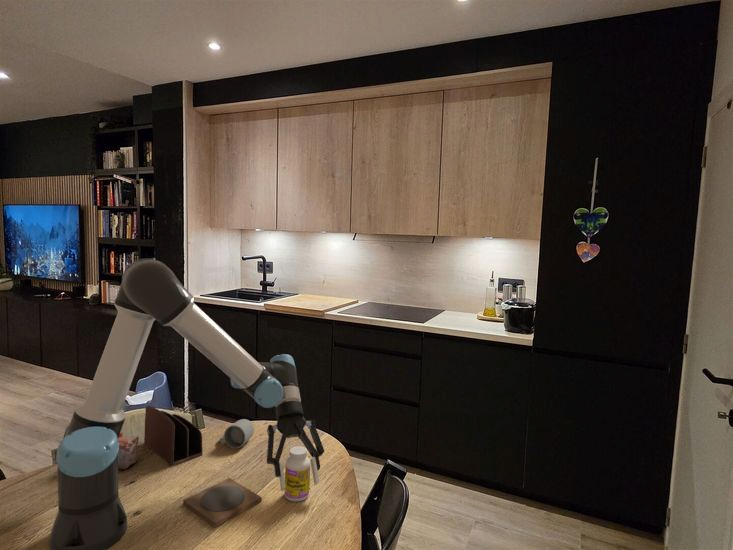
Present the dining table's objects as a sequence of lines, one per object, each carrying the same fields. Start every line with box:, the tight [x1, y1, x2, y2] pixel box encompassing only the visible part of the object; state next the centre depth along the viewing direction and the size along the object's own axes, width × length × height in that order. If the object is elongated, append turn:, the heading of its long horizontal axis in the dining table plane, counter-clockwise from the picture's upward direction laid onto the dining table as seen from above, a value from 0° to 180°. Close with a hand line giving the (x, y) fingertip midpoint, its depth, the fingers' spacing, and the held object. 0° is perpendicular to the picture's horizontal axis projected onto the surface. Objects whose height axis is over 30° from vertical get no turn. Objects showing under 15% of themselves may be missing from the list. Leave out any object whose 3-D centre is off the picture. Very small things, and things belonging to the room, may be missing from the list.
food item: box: [118, 432, 139, 470], centre depth 132 cm, size 14×8×10 cm, turn 90°
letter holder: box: [143, 405, 203, 467], centre depth 143 cm, size 10×20×14 cm, turn 49°
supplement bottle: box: [284, 445, 311, 502], centre depth 121 cm, size 7×7×13 cm
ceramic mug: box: [219, 418, 255, 449], centre depth 149 cm, size 11×8×8 cm
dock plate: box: [182, 477, 263, 529], centre depth 116 cm, size 14×14×1 cm
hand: (300, 486), depth 118 cm, fingers open, 8 cm apart
